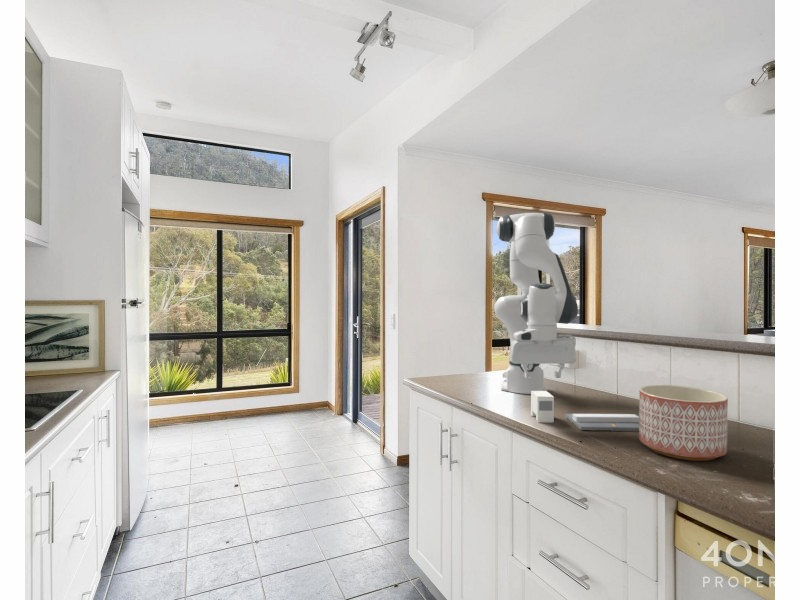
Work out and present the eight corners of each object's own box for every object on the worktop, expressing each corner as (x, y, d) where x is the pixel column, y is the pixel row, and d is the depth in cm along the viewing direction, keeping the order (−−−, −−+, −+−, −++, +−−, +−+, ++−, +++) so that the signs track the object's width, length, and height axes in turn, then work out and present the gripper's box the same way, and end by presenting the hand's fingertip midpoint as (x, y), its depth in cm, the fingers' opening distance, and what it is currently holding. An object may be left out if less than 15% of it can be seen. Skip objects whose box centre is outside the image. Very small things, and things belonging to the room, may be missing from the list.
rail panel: (565, 416, 146) (565, 409, 146) (627, 417, 145) (628, 409, 145) (581, 430, 132) (581, 422, 132) (650, 431, 131) (650, 422, 131)
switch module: (530, 415, 148) (531, 390, 148) (546, 415, 148) (546, 390, 148) (537, 422, 140) (537, 396, 140) (553, 422, 140) (554, 396, 140)
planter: (650, 432, 130) (651, 381, 129) (732, 449, 116) (733, 392, 116) (628, 450, 116) (629, 393, 115) (719, 470, 102) (720, 406, 102)
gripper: (571, 333, 146) (572, 375, 146) (508, 333, 147) (508, 375, 147) (579, 334, 140) (579, 379, 140) (512, 335, 140) (512, 379, 140)
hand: (542, 377), depth 143 cm, fingers open, 8 cm apart
